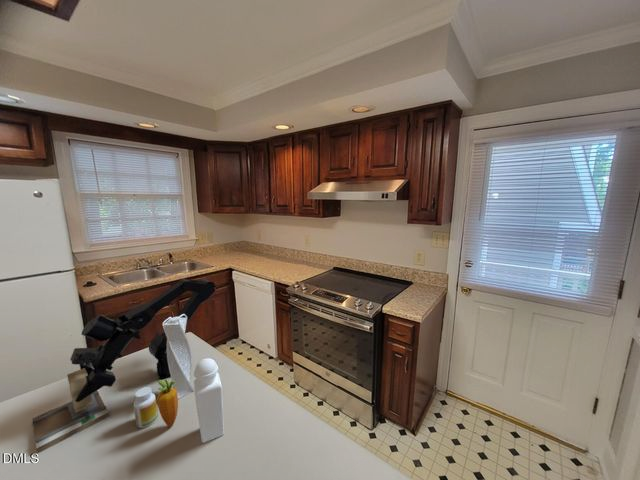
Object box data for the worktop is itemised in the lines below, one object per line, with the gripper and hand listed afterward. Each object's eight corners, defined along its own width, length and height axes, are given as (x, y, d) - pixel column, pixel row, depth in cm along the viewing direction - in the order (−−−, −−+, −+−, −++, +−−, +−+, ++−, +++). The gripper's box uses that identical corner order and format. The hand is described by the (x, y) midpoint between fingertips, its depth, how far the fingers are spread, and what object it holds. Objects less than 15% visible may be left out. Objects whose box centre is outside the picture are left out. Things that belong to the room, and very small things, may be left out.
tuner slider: (93, 396, 86) (87, 363, 84) (101, 414, 79) (95, 379, 77) (68, 408, 82) (61, 373, 80) (74, 428, 74) (67, 390, 72)
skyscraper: (199, 391, 90) (191, 313, 86) (176, 403, 85) (166, 321, 80) (190, 380, 96) (182, 307, 91) (167, 391, 90) (157, 314, 86)
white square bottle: (200, 446, 70) (192, 370, 67) (198, 427, 76) (191, 357, 72) (226, 435, 73) (219, 362, 69) (222, 418, 79) (216, 350, 75)
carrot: (184, 421, 78) (179, 375, 75) (170, 436, 73) (164, 387, 71) (171, 417, 79) (166, 372, 77) (156, 431, 75) (150, 383, 72)
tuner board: (97, 394, 90) (96, 388, 90) (109, 416, 80) (108, 410, 80) (33, 423, 78) (31, 416, 78) (37, 453, 69) (36, 446, 69)
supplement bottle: (162, 414, 81) (158, 385, 79) (149, 429, 76) (145, 399, 74) (145, 413, 81) (141, 384, 80) (132, 428, 76) (127, 398, 75)
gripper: (82, 328, 87) (40, 376, 80) (95, 347, 75) (47, 406, 68) (115, 340, 94) (79, 385, 87) (132, 359, 82) (92, 413, 76)
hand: (74, 396), depth 80 cm, fingers open, 6 cm apart
